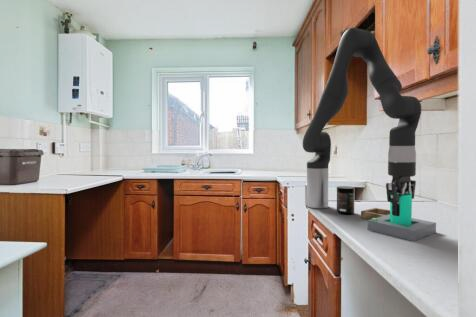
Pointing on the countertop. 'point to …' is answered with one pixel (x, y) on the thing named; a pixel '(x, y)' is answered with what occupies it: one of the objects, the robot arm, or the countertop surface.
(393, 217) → the candle
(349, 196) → the supplement container
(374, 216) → the holder ring
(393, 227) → the frame
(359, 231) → the countertop surface
